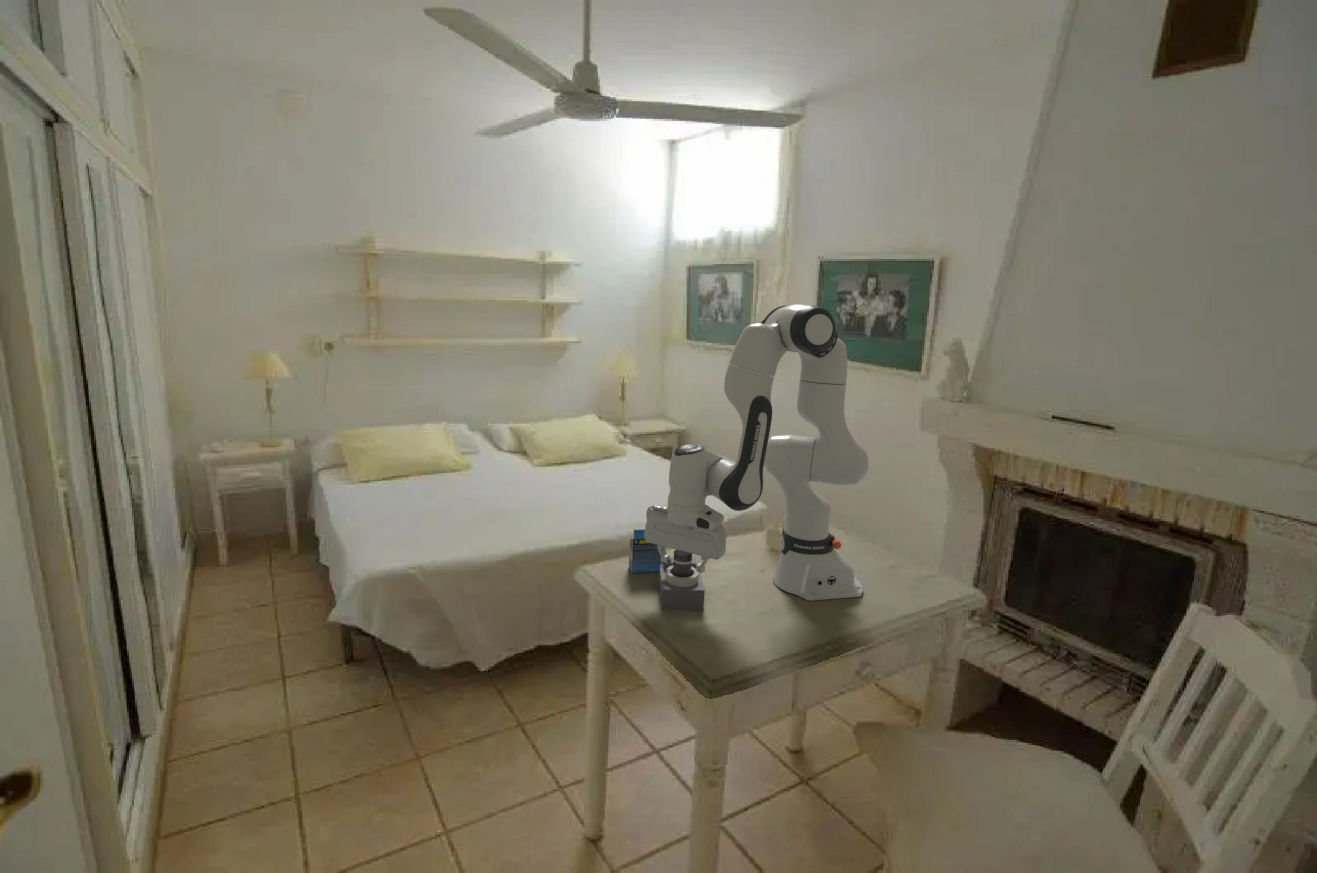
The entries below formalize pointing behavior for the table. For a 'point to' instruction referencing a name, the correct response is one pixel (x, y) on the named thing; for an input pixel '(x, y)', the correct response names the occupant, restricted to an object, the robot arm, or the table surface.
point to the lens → (682, 563)
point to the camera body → (680, 588)
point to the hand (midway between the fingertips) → (682, 566)
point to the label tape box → (643, 554)
